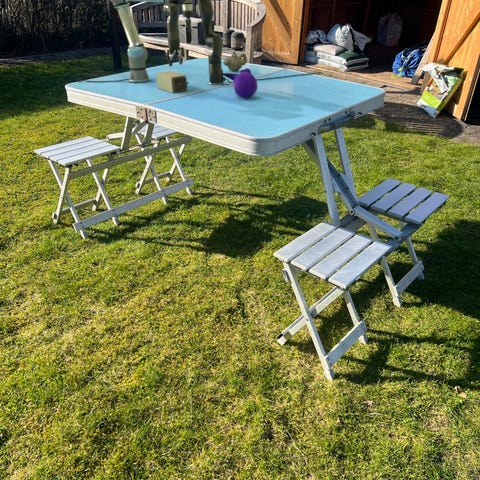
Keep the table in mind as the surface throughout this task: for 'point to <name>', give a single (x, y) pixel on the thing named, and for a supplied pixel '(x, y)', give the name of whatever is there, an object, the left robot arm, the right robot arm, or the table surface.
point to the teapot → (235, 62)
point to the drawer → (179, 84)
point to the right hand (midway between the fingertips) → (175, 65)
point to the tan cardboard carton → (167, 80)
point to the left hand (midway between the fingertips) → (189, 42)
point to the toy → (243, 83)
